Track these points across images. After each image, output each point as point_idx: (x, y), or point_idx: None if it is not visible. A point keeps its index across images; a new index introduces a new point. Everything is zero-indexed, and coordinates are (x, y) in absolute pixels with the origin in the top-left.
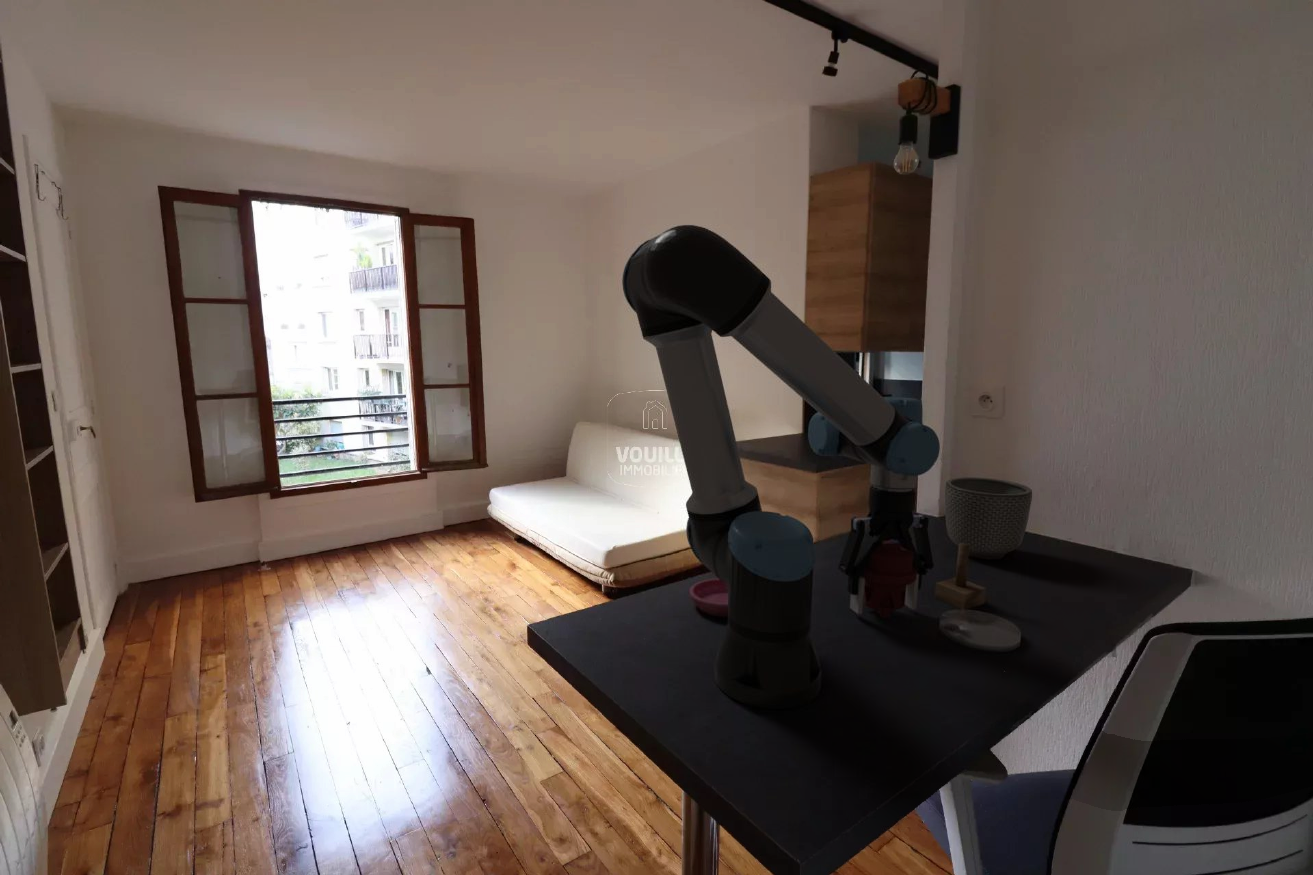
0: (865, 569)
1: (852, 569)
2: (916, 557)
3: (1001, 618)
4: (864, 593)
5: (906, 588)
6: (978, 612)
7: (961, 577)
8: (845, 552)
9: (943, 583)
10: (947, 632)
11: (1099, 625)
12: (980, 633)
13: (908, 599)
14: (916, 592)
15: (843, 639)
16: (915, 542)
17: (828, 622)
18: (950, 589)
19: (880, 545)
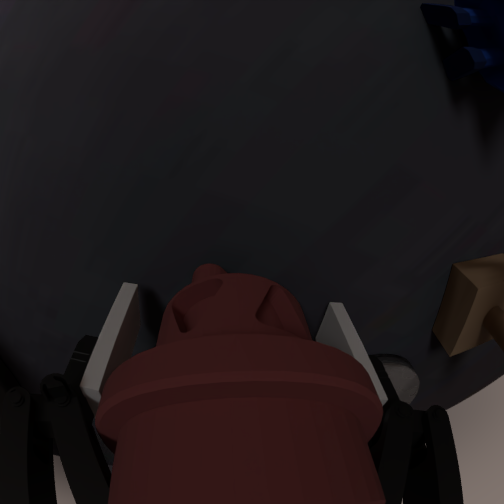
0: (114, 450)
1: (51, 444)
2: None
3: (411, 397)
4: (158, 335)
5: (343, 351)
6: (410, 379)
7: (496, 341)
8: (7, 472)
9: (483, 297)
10: None
11: (483, 383)
12: None
13: (328, 338)
14: None
15: (70, 349)
16: (440, 497)
17: (58, 284)
18: (461, 326)
19: None
